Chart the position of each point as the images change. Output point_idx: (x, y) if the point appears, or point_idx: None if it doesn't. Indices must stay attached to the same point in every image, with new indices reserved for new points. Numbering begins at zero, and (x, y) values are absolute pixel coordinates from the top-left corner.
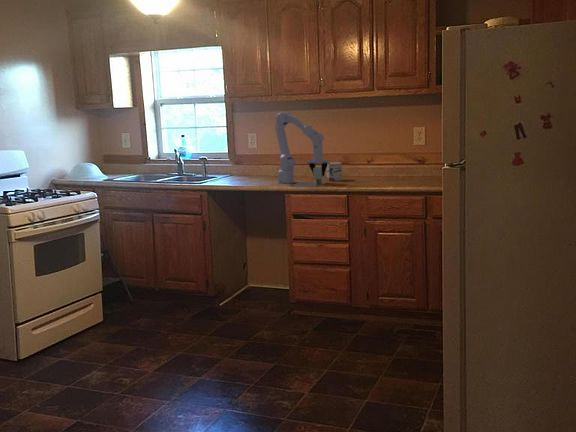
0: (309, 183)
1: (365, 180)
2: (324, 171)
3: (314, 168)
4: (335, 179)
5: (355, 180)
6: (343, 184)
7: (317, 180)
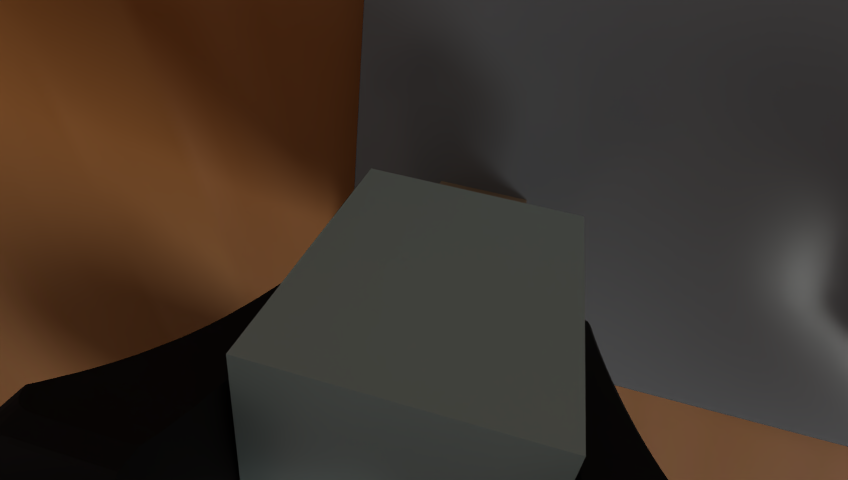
0: (681, 226)
1: (6, 385)
2: None
3: (515, 424)
4: None
5: None
6: (69, 125)
7: None
